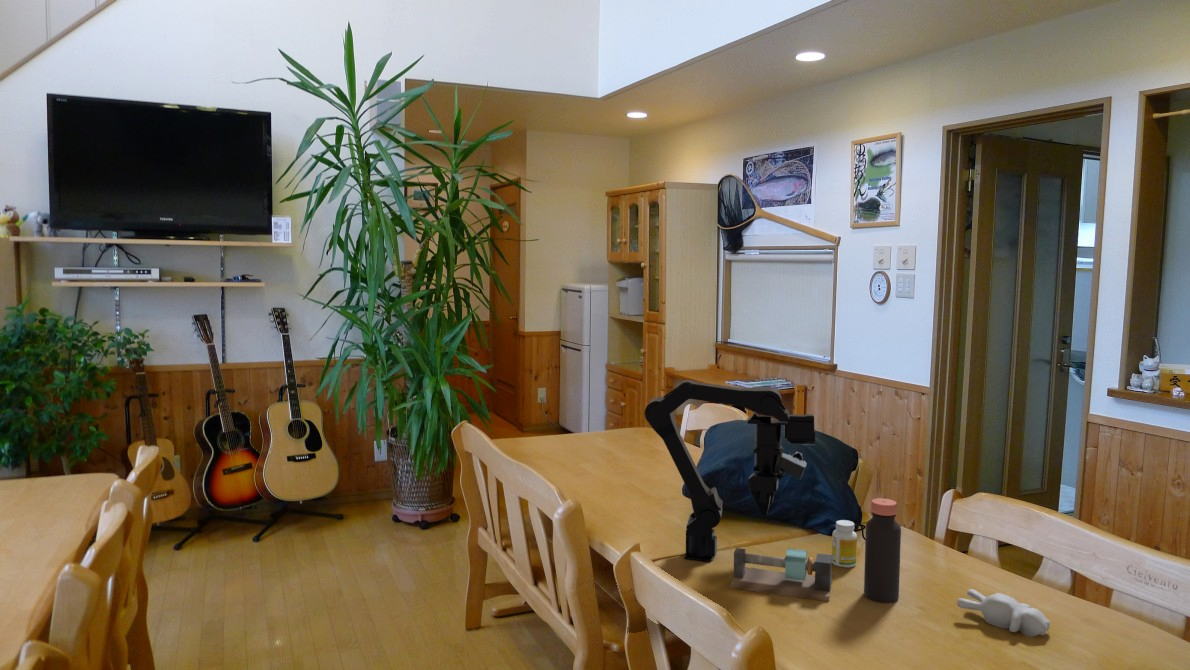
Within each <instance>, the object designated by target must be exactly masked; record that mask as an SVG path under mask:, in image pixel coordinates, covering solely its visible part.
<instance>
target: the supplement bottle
mask: <svg viewBox="0 0 1190 670" xmlns="http://www.w3.org/2000/svg"><path fill="white" fill-rule="evenodd" d="M854 530H855V523H854V522H853V521H851V520H848V519H847V520H846V519H840V520H837V521H835V529H834V530H833V531H832V534H831V535H832V540H831V555H832V564H833V565H835V566H837V567H839V568H847V569H848V568H853V567H855V566H856V564H857V553H858V552H857V549H858V548H857V547H858V546H857V545H858V534H857V533H856V532H855V531H854Z"/></svg>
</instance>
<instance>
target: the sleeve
mask: <svg viewBox="0 0 1190 670" xmlns="http://www.w3.org/2000/svg"><path fill="white" fill-rule="evenodd" d="M784 558H785V568H784V572H785V578H786V579H794V580H802V581H805V578H806V575H807V574H808V573H807V570H805V564H806V561H808V550H806V549H799V548H798V549H796V548H790V547H789V548H787V550H786V553H785V557H784Z"/></svg>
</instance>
